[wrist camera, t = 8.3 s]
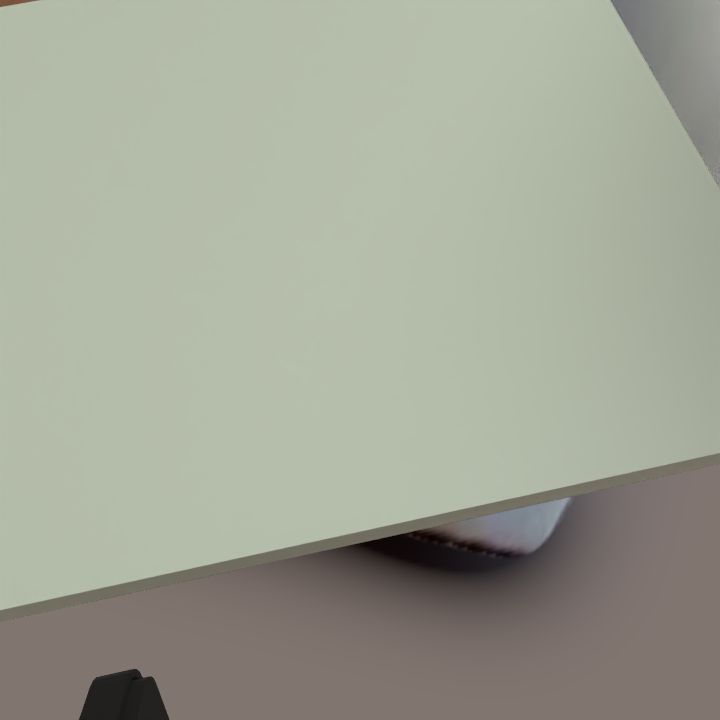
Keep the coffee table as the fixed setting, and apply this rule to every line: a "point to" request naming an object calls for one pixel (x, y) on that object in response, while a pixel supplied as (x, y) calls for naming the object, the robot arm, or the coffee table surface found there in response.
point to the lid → (333, 279)
